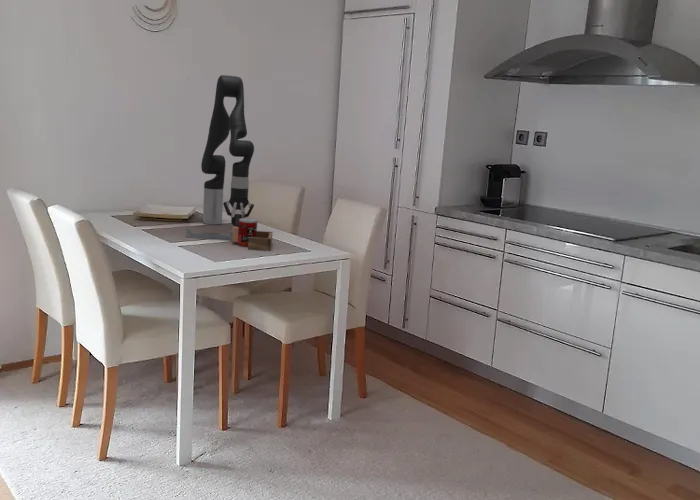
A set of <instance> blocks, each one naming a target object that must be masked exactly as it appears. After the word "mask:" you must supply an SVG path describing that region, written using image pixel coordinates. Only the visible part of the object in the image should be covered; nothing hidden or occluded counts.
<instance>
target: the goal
mask: <svg viewBox="0 0 700 500" xmlns="http://www.w3.org/2000/svg"><path fill="white" fill-rule="evenodd" d="M272 244H273V231H262V230H257V235H256V237H249V241H248V247H247V249H248V250H251V251H252V250H253V251H266V250H268V252H270V251H271V249H272Z"/></svg>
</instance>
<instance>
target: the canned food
mask: <svg viewBox="0 0 700 500" xmlns="http://www.w3.org/2000/svg"><path fill="white" fill-rule="evenodd" d="M257 231H258V219H256V218H252V217H250V218H249V217H245V218H241V219H239V233H238V242H237V243H238V245H239V246H240V247H243V248H244V247H245V248H246V247H247V248H248V241H249V237H256V235H257Z"/></svg>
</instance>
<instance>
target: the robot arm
mask: <svg viewBox="0 0 700 500" xmlns="http://www.w3.org/2000/svg"><path fill="white" fill-rule="evenodd" d="M244 94H245V90H244V82H243V79H242V77H240V76H235V75H227V74H223V75H221V74H220V76H219V77H218V79H217V82H216V88H215V95H214V103H213V104H214V105H213V110H212V113H211V117H210V118H211V119H210V121H209V122H210V123H209V127H208V128H209V129H208V134H207V140H206V144H205V147H204V148H205V149H204V150H203V151H204V152H203V155H202V159H201V163H200V164H201V165H200V166H201V167H200V168H201V172H202V173H203V174H205V175H215V176H214V177H213V178H212V179H209V180H206V181H205V182H204V184H203V213H202V223H203V224H207V225H221V224H223V207H224V209H225V213H226V215H227V216H229V217H230V218H231V221H230V223H231V225H232V226H233V227H234V223H235V214H236V211H238V210H239V211H240V214H242V218H249V216H250V215H251V212H252V211H253V209H254V207H255V204H254V203H251V202H250V200H249V184H250V181H249V174H250V173H249V171H250V170H249V169H250V164H251V162H252V159H253V155H254V153H255V152H254V151H255V146H254V143H253V142H252V141H250V140H242V139H244V138H246V137H247V134H248V131H247V124H246V117H245V95H244ZM225 98H235V100H236V101H235V105H234V107H233V109H232V110H231V113H230V115H229V113H228V112H227V109H226V107H225V102H224V99H225ZM229 135H230V139H229V140H230V141H229V145H228V146H229V147H228V151H229V154H230V155H231V156H232V157H235V158H236V157H237V158H238V157H240V158H242V160H240V161H236V162H233V163H232V166H231V167H232V170H231V180H230V197H229V198H230V199H229V200H227V201H224V186H225V175H226V158H225V156H224V155H222V154H221V155H220V154H214V153H215V152H216V150H217V149H218V148H219V147H220V146H221V145H222V144H223V143H224V142H225V141H226V140H227V138H228V137H229ZM229 206H231V207H232V211H231V210H230V208H229ZM247 206H248V211H247V213H246V211H245V209H246V207H247Z"/></svg>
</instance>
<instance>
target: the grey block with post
mask: <svg viewBox="0 0 700 500" xmlns="http://www.w3.org/2000/svg"><path fill="white" fill-rule="evenodd" d="M241 218H242V214H241V213H235V223H234V226H233V227H232V228H231V229H230V231H229V234H230V240H229V241H231V242H233V243H234V242H235V243H238V233H239V219H241Z"/></svg>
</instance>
